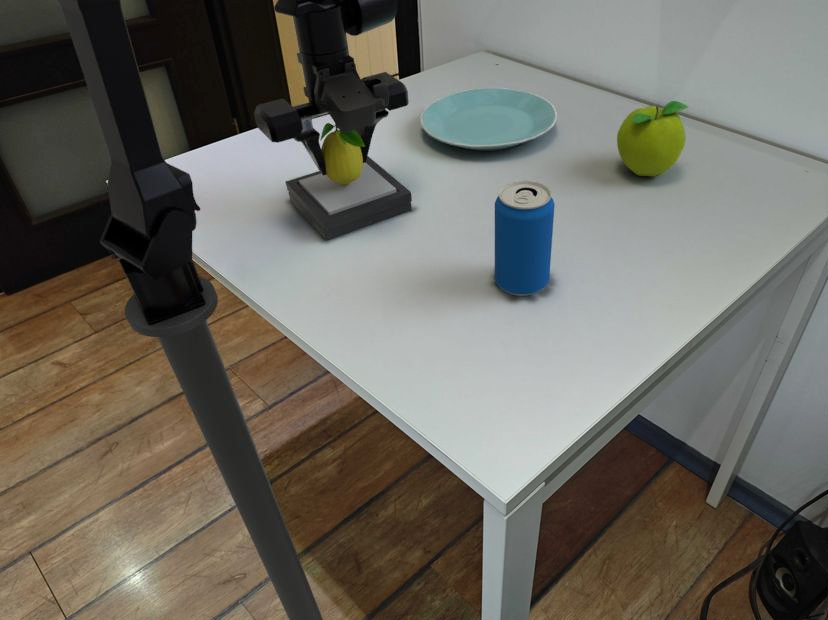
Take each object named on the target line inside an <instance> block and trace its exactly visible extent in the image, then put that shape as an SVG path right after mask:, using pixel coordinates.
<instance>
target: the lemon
mask: <svg viewBox="0 0 828 620" xmlns="http://www.w3.org/2000/svg"><path fill="white" fill-rule="evenodd" d="M334 128H335V130H334V131H332V130H333V129H334ZM331 131H332V132H331ZM320 136H321V137H320V138H319V142H321V141H322V140H323V139H324V140H323V141H322V145H321V147H320V148H321V151H322V155H323V159H324V162H325V167H326V175H327V177H328V178H329V179H331V180H332V181H334V182H337V183H342V184H344V185H347V184H349V182H352V181H354V180H356V179H357V178H358V177H359V175H360V174H361V171H362V167H363V157H362V152H361V149H360V147H365V145H364V143H363V140H362V139H361V137H360V136H359V134H358V133H357V132H356V131H355V130H353V131H350V132H343V131H340V130H339V129H338V128H337V126H336V123H335V122H334V124H332V123H330V122H327V123H325V125H324V126H323V128H322V131H321V135H320Z"/></svg>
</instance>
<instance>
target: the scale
mask: <svg viewBox="0 0 828 620" xmlns="http://www.w3.org/2000/svg"><path fill="white" fill-rule="evenodd" d="M366 163H367V164H368V165H369V166H370V167H371V168H373V169H374V170H375V171H376V172H377V173H378V174H380V175H381V176H382V177H383V178H384V179H385V180H387V181H388V182H389V183H390V184H391V185H392V186H394V187H395V188H396V190H397V192H396V193H393V194H390V195H387V196H384V197H381V198H379V199H376V200H373V201H370V202H367V203H364V204H361V205H358V206H355V207H352V208H350V209H347V210H344V211H341V212H338V213H335V214H332V215H329V216H328V215H327V214H326V213H325V212H324V211H323V210H322V209H321V208H320V207H319V206H318V205H317V204H316V203H315V201H314V200H313V199H312V198H311V197H310V196H309V195H308V194H307V193H306V192H305V191H304V190H303V189H302V188H301V187H300V185H299V180H302V179H305V178H309V177H312V176H315V175H318V174H321V173H320V171H319V170H317V171H313V172H312V173H308V174H304V175H302V176H299V177H295V178H292V179H289V180H286V181H285V187H286V191H287V192H288V197H289V201H290V203H291V204H292V205H293V207H295V208H296V209H297V210H298V212H299V213H300V214H301V215H302V216H303V217H304V218H305V220H306V221H308V223H309V224H310V225H311V226H312V227H313V228H314V229H315V231H316V232H317V233H318V234H319V235H320V236H321V237H322V238H323V240H325V241H328V240H331V239H334V238H337V237H340V236H343V235H345V234H348V233H351V232H353V231H356V230H357V231H358V230H360V229H362V228H365V227H367V226H371V225H372V224H375V223H379V222H382V221H384V220H388V219H390V218H392V217H395V216H398V215H401V214H404V213H407V212H409V211H412V201H413V199H412V198H413V197H412V192H411V191H410V190H409V189H408V188H407V187H406V186H405V185H403V184H402V183H401V182H400V181H398V180H397V179H396V178H395V177H394V176H392V175H391V174H390V173H389V172H388V171H387V170H385V169H384V167H382V166H380V165H379V163H377V162H376V161H375V160H374V159H372V158H371V157H370V156H369V155H368V156H367V160H366Z"/></svg>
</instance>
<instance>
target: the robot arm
mask: <svg viewBox="0 0 828 620" xmlns="http://www.w3.org/2000/svg"><path fill="white" fill-rule="evenodd" d="M57 2H58V3H59V5H60V7H61V10H62V13H63V16H64V19H65V22H66V25H67V28H68V32H69V35H70V38H71V40H72V44H73V47H74V49H75V53H76V56H77V59H78V62H79V65H80V68H81V70H82V74H83V77H84V80H85V83H86V86H87V89H88V92H89V95H90V99H91V101H92V105H93V107H94V111H95V114H96V118H97V120H98V123H99V125H100V129H101V132H102V135H103V138H104V141H105V145H106V147H107V150H108V153H109V157H110V167H109V173H108V177H107V191H108V192H107V193H108V197H109V198H108V199H109V204H110V211H111V213H110V215H109V217H108V220H107V222H106V225H105V228H104V230H103V232H102V235H101V237H100V240H99V243H100V244H101V245H102V246H103V247H104V248H105V249H106V250H107V251H108V252H109V253H110V254H112V255H114V256H117V257H118V258H120V259H118V261H119V264H120V266H121V268H122V270H123V273H124V274H125V277H126V279H127V280H128V283H129V285H130V287H131V289H132V291H133V294H134V293H135V294H134V296H135V298H136V301H137V303H138V305H139V307H140V309H141V311H142V313H143V316H144V318H145V320H146V322H147V324H148V325H154V324H157V323H159V322H162V321H165V320H167V319H170V318H173V317H176V316H178V315H181V314H184V313H186V312H189V311H192V310H194V309H197V308H200V307H202V306H204V305H205V304H206V302H205V300H204V298H203V296H202V295H201V292H203V290H204V289H203V286H202V283H201V281H200V278H199V276H200V274H199V273H198V271H197V268H196V265H195V262H194V260H193V232H194V231H195V230H196V229H197V223H198V221H197V213H196V211H197V212H200V211H201V206H199V204H198V203H197V200H196V198H195V195H194V185H193V181H192V178H191V177H192V176H191V174H190V173H189V172H186V171H185V170H182V169H180V168H178V167H176V166H174V165H172V164H170V163H168V162H166V160H165V157H164V155H163V152H162V149H161V145H160V142H159V138H158V134H157V131H156V128H155V123H154V119H153V116H152V113H151V109H150V105H149V102H148V99H147V95H146V90H145V88H144V84H143V81H142V77H141V73H140V69H139V66H138V62H137V58H136V55H135V54H136V53H135V51H134V47H133V44H132V40H131V36H130V33H129V29H128V26H127V23H126V18H125V16H124V11H123V7H122V0H57ZM273 10H274V11H275V13H278V14H282V15H286V16H290V17H292V18H293V19H292V20H293V24H294V30H295V35H296V41H297V44H298V45H297V46H298V52H297V53H296V57H297V61H298V62H297V63H299V64H301V66H302V72H303V77H304V83H305V86H303V88H302V89H303V94H304V96H305V97H306V98H307V99H308V102H305V103H301V104H298V105H294V106H293V105H291V104H290V103H289V102H288V101H287V100H286V99H284V98H280V99H276V100H272V101H268V102H264V103H259V104H257V105H256V107H255V109H254V112H253V116H254V121H255V125H256V128H257V129H259V131H261V133H263V135H264V136H265V137H266V138H267V139H268V140H269V141H270V142H271V143H278V144H279V143H282V142H286V141H289V140H292V139H293V140H294V141H295V142H298V143H301V144H302V145H303V147H304V149H305V151H306V152H307V154H308V155H309V156H310V158H311V160H312V162H313V163H314V165H315V166H316V168H317V169H318V171H320V173H321V174H322V175H323V176H325V175H326V167H325V162H324V159H323V155H322V151H321V148H322V147H321V144H320V138H321V137H320V136H321V134H320V132H319V131H318V130H317V129H315V128H314V125H313V120H314V119H318V118H322V117H325V116H329V117H331V119H332V120H333V123H334V124H335V123H336V126H337V128H338V130H340V131H343V132H350V131H353V130H355V131H356V132H357V133H358V134H359V136H360V137H361V139H362V140H363V143H364V145H365V147H360V149H361V152H362V157H363V163H366V160H367V156H369V151H370V147H371V143H372V138H373V134H374V133H375V130H376V126H377V125H378V124H379V123H380V121H381V120H383V119H385V118H387V117H388V116H389V114H390V111H393V110H397V109H400V108H401V109H402V108H405V107H407V106H408V105H409V103H410V102H409V91H408V88H407V87H406V84H404V83H403V82H402V81H401V80H399V79H398V78H396V77H395V76H393V75H392V74H389V73H388V72H386V71H383V72H379V73H375V74H371V75H368V76H364V77H362V78H361V77H360V75H359V73H358V71H357V66H356V63H355V57H353V56H351V55H350V52H349V45H348V37H347V34H348V35H349V36H352V37H356V36H357V37H358V36H359V35H362V34H365V33H368V32H369V31H372V30H374V29H377V28H380V27H383V26H385V25H388V24H390V23H391V22H393V20H395V18H396V16H397V12H398V0H277V1H276V2H275V5H274V7H273ZM336 126H335V127H336Z"/></svg>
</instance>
